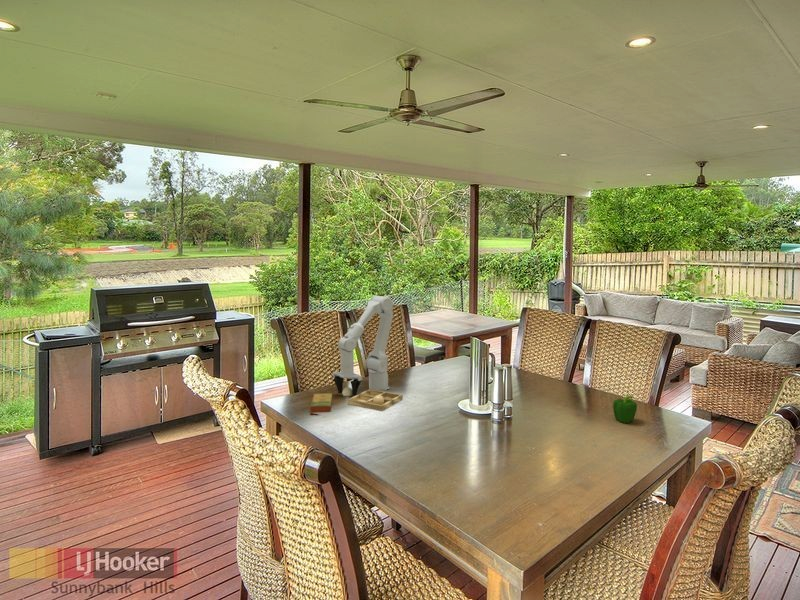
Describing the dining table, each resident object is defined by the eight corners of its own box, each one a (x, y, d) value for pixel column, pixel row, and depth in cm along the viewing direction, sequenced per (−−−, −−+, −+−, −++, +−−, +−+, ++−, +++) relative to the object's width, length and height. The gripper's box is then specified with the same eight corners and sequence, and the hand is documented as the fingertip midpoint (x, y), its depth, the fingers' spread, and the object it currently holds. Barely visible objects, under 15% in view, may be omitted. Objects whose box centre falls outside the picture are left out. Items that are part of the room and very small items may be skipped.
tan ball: (376, 403, 204) (376, 392, 204) (386, 405, 202) (386, 394, 202) (370, 406, 201) (370, 395, 200) (380, 408, 198) (380, 397, 198)
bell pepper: (612, 423, 186) (614, 397, 185) (611, 416, 193) (612, 391, 192) (637, 426, 183) (638, 400, 182) (634, 418, 191) (636, 393, 189)
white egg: (346, 395, 220) (346, 385, 219) (354, 396, 217) (354, 386, 217) (340, 397, 216) (340, 387, 215) (348, 399, 213) (348, 389, 213)
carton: (332, 402, 211) (332, 393, 210) (331, 415, 195) (330, 405, 194) (313, 403, 210) (313, 393, 209) (309, 416, 194) (309, 405, 193)
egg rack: (369, 395, 218) (369, 388, 218) (402, 401, 210) (402, 394, 210) (347, 407, 204) (347, 399, 203) (382, 413, 195) (382, 406, 195)
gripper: (328, 364, 215) (328, 394, 216) (355, 368, 208) (355, 399, 209) (337, 360, 221) (338, 389, 222) (364, 364, 214) (364, 394, 215)
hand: (347, 394), depth 216 cm, fingers open, 7 cm apart
